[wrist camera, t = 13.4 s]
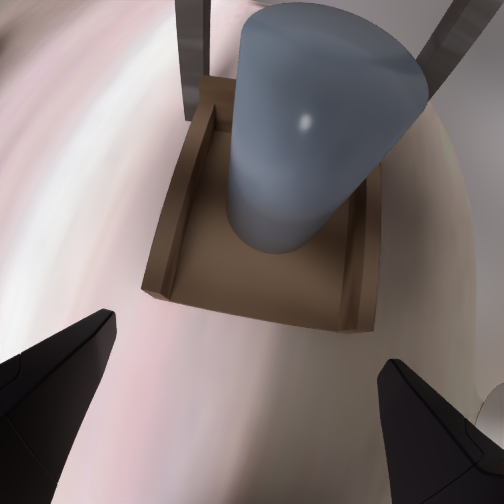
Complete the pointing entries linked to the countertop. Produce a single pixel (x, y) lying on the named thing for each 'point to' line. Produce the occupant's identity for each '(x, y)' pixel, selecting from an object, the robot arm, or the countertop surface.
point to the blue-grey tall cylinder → (312, 118)
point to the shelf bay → (215, 197)
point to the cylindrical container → (493, 416)
